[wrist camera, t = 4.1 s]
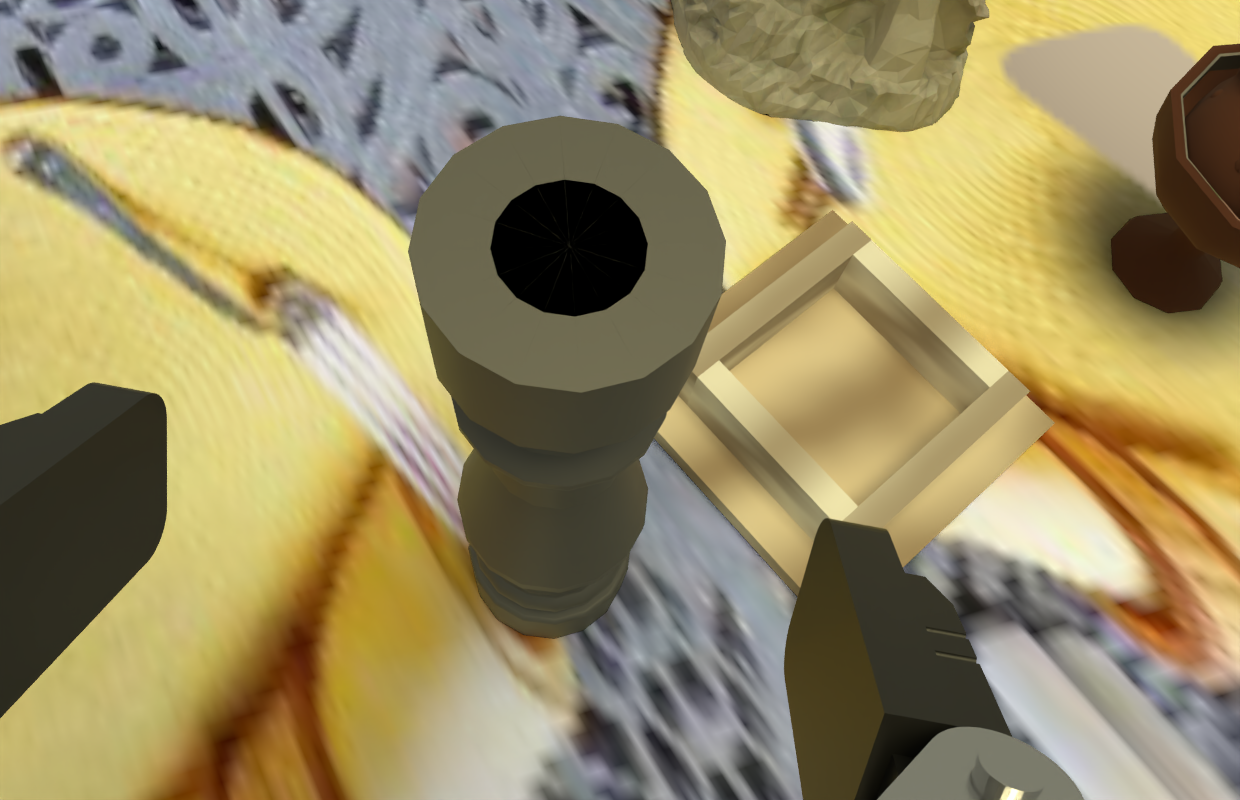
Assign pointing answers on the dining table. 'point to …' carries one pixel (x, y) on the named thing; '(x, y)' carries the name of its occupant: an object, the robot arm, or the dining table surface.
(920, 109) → the ceramic cottage
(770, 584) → the dining table surface
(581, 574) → the candle holder
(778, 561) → the socket base
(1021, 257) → the dining table surface
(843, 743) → the robot arm
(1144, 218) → the ice cream bowl
